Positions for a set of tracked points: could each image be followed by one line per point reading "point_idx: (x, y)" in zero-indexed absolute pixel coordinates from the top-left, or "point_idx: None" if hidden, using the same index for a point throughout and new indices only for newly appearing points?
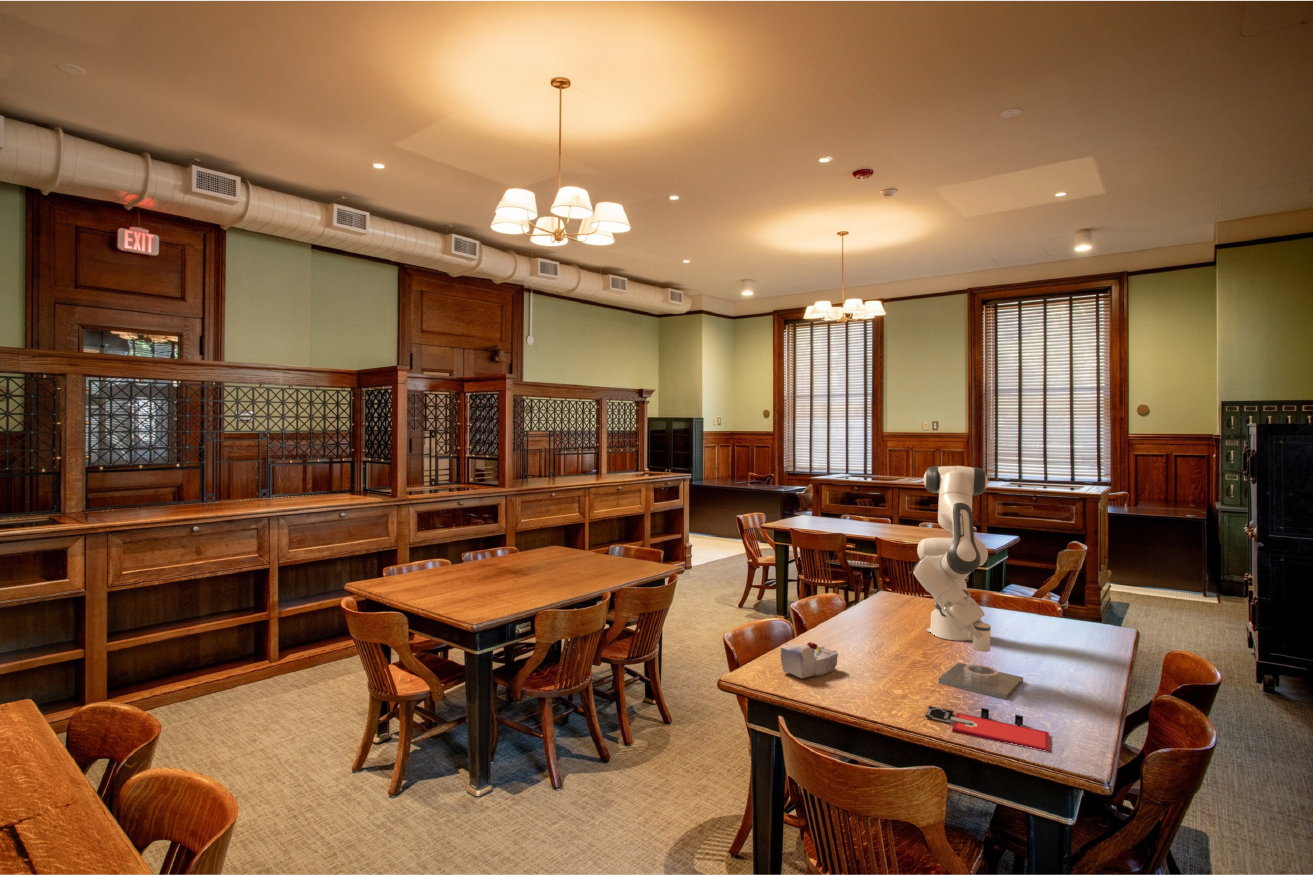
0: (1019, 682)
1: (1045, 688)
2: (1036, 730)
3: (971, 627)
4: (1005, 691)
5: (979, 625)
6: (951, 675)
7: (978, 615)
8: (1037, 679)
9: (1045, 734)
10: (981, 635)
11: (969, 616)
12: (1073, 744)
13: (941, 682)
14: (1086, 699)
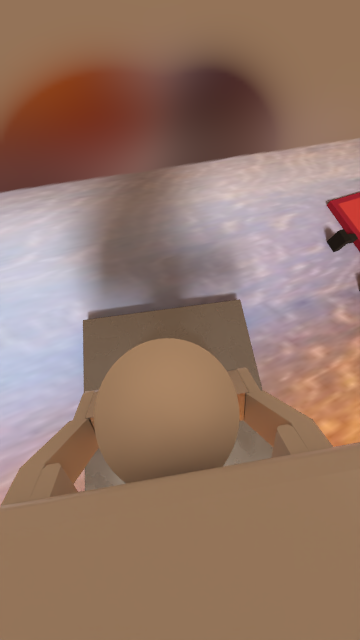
0: (123, 315)
1: (96, 277)
2: (343, 213)
3: (317, 436)
4: (220, 309)
5: (213, 408)
6: (227, 463)
7: (8, 541)
8: (44, 308)
9: (343, 201)
10: (243, 369)
11: (330, 561)
12: (324, 176)
13: None
14: (103, 212)
